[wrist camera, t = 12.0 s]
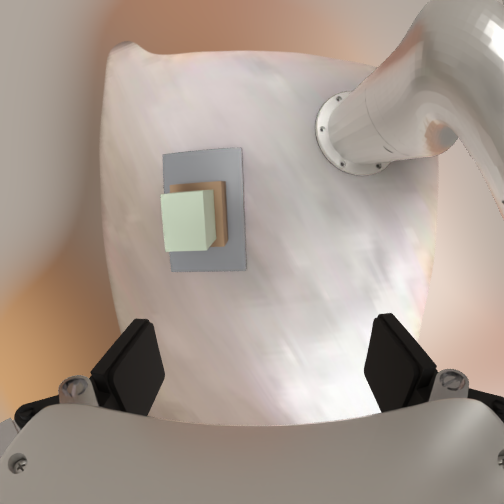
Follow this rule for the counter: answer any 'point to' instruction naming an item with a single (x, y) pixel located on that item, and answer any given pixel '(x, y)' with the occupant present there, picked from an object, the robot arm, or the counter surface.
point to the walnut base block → (219, 206)
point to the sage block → (188, 220)
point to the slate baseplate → (230, 170)
